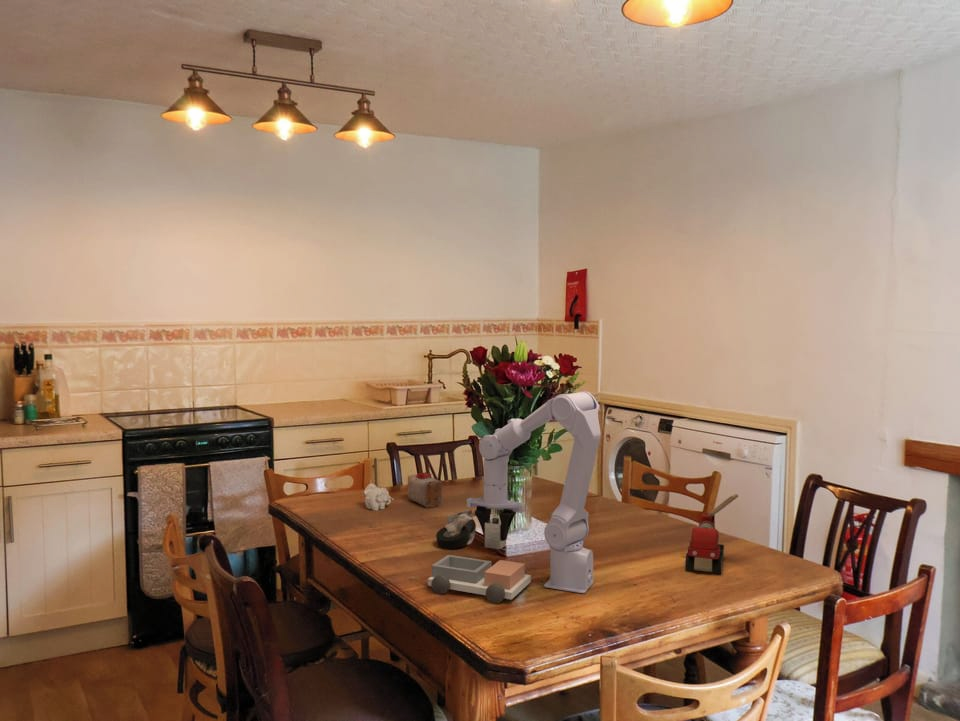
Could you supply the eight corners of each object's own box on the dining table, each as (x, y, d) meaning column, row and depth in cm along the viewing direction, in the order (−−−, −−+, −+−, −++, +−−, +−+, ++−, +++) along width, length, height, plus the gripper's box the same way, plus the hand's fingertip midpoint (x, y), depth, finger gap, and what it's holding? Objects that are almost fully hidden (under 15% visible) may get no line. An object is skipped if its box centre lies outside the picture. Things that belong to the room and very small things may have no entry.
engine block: (506, 544, 199) (506, 517, 199) (499, 549, 195) (500, 521, 195) (491, 542, 201) (491, 515, 200) (484, 547, 197) (484, 519, 197)
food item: (403, 499, 261) (403, 469, 260) (425, 496, 265) (425, 467, 265) (424, 509, 250) (424, 477, 249) (446, 506, 254) (446, 474, 253)
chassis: (532, 584, 185) (533, 560, 185) (509, 606, 172) (509, 580, 172) (453, 571, 193) (453, 549, 193) (425, 591, 180) (425, 567, 180)
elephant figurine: (398, 508, 251) (398, 485, 250) (371, 513, 245) (371, 489, 244) (384, 503, 257) (384, 480, 256) (358, 508, 250) (358, 485, 250)
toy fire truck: (684, 573, 194) (686, 500, 193) (690, 554, 209) (692, 486, 207) (733, 579, 190) (736, 504, 189) (736, 559, 205) (738, 490, 203)
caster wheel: (443, 560, 210) (433, 543, 219) (486, 547, 213) (474, 530, 222) (439, 536, 208) (429, 520, 217) (482, 524, 211) (470, 508, 220)
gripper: (529, 482, 198) (529, 537, 199) (475, 477, 203) (474, 530, 204) (519, 489, 191) (518, 545, 192) (463, 483, 197) (463, 538, 198)
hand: (495, 538), depth 198 cm, fingers closed on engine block, 4 cm apart
